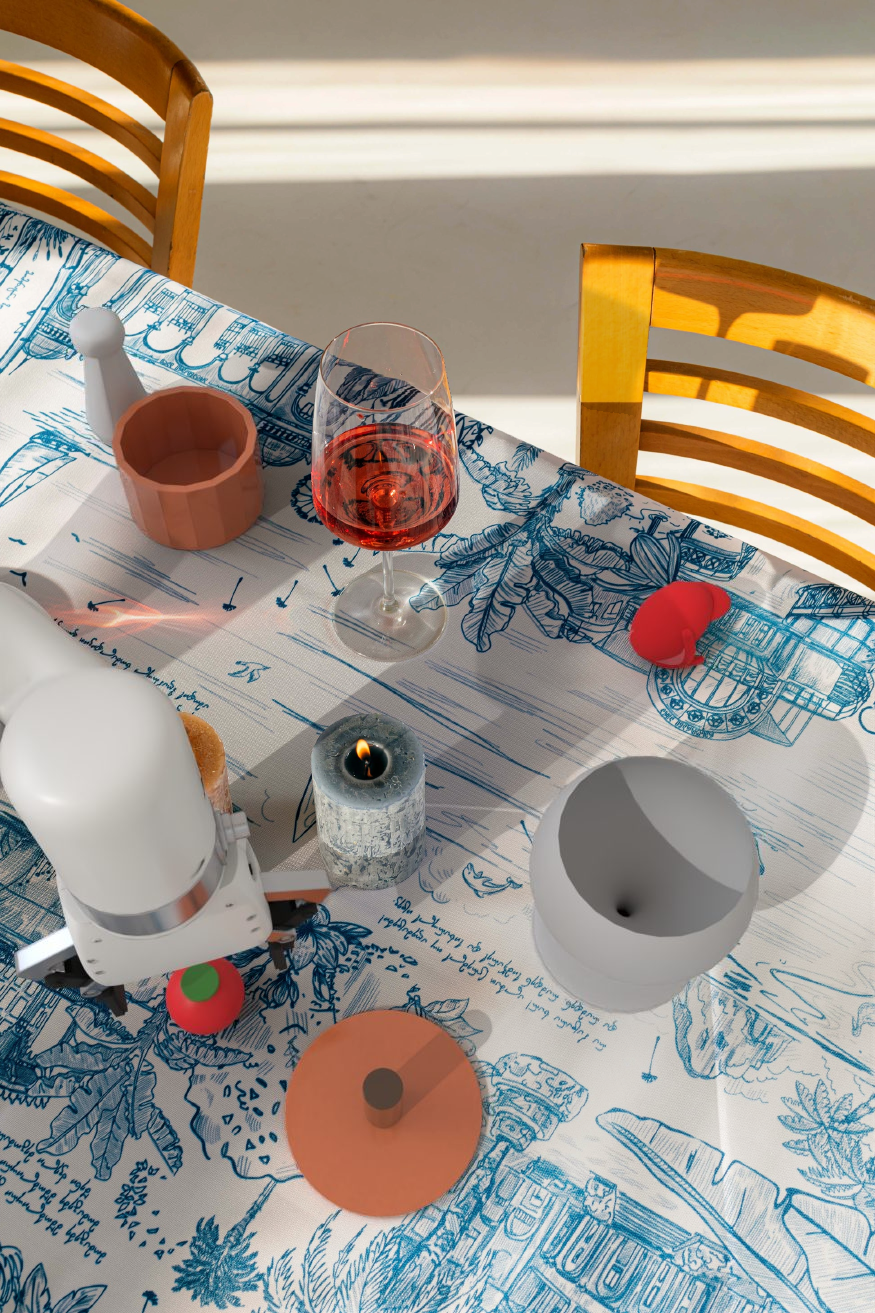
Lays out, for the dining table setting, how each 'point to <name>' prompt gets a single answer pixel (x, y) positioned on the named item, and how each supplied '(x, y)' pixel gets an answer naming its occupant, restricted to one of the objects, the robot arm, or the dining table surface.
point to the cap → (676, 622)
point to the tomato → (205, 996)
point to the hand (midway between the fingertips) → (198, 969)
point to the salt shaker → (105, 369)
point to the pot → (190, 466)
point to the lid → (383, 1113)
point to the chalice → (639, 882)
